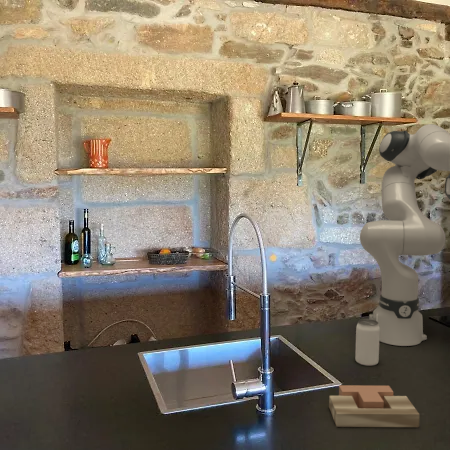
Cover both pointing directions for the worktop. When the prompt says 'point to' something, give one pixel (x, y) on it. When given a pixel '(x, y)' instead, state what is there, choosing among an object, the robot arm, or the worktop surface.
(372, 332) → the can
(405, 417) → the dock
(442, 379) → the worktop surface
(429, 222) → the robot arm
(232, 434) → the worktop surface
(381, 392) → the t block
